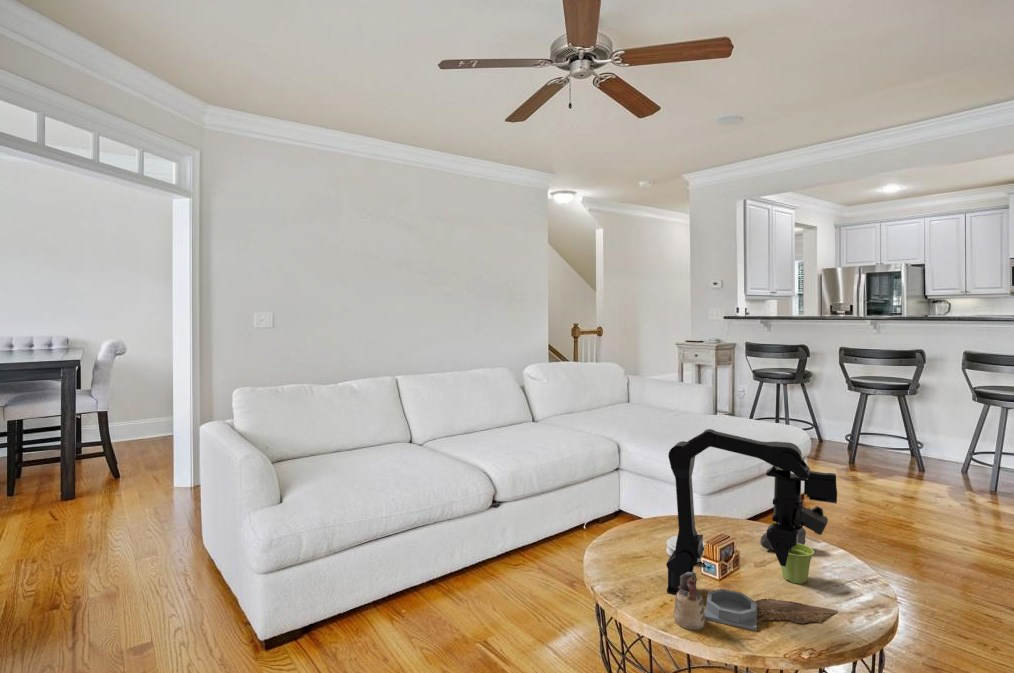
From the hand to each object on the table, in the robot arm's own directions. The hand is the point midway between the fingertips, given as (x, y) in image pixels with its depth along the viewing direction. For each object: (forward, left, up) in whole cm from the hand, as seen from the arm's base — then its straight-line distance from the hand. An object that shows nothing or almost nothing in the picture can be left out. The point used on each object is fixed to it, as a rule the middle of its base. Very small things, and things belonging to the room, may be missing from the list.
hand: (785, 558), depth 129 cm
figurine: (-21, -13, -14) cm, 28 cm away
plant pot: (+3, +22, -14) cm, 26 cm away
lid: (-26, +25, -15) cm, 39 cm away
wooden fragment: (0, +2, -15) cm, 15 cm away
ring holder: (-12, -5, -14) cm, 19 cm away
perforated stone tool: (+1, +42, -14) cm, 44 cm away
